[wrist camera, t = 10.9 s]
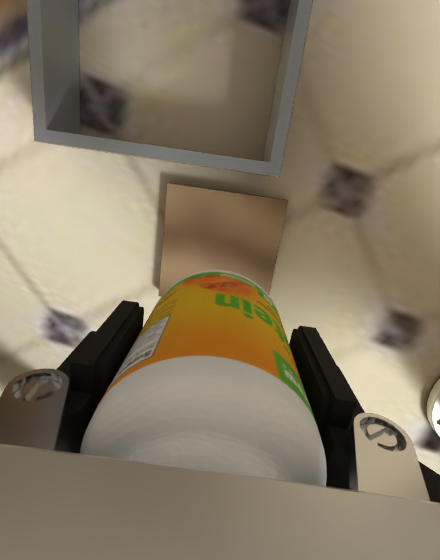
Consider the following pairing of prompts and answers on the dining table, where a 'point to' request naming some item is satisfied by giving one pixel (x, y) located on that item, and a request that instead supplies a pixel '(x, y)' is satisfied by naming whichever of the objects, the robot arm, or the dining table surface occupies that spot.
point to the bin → (66, 132)
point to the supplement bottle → (211, 388)
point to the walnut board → (220, 234)
